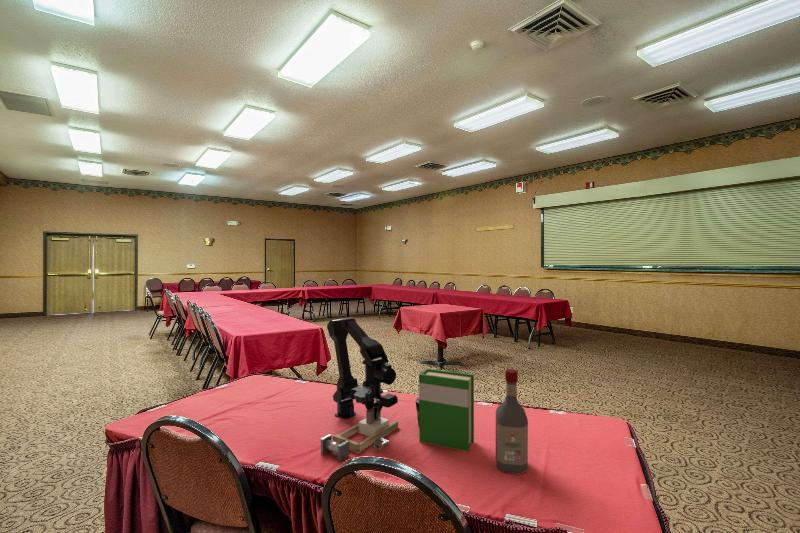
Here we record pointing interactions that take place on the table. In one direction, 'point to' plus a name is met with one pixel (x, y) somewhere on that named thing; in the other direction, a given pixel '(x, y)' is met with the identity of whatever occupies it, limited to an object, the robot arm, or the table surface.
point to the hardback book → (446, 408)
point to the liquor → (511, 430)
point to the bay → (368, 441)
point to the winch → (335, 447)
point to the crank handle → (382, 443)
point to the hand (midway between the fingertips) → (373, 418)
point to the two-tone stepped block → (372, 423)
